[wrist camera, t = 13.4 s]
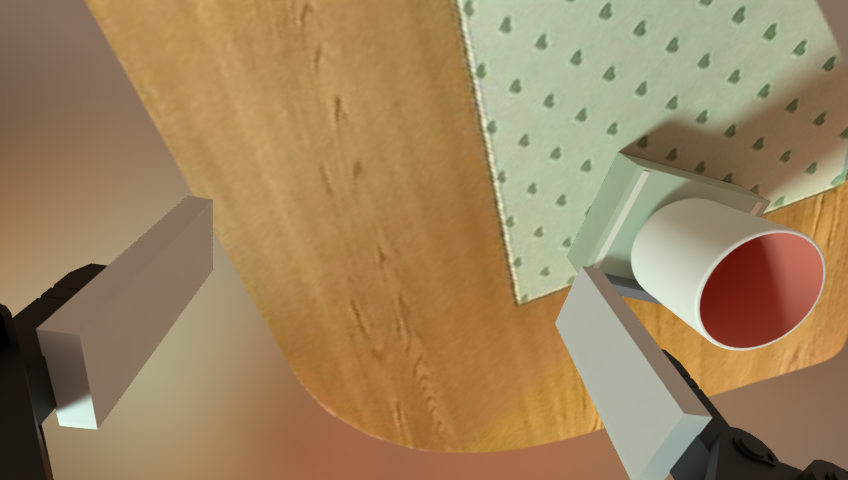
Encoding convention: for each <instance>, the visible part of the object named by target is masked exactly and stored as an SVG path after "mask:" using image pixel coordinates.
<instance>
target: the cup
mask: <svg viewBox="0 0 848 480" xmlns="http://www.w3.org/2000/svg"><path fill="white" fill-rule="evenodd" d="M631 266H632V270H633V273H634V276H635V278H636V280H637V281H638V283H639V284H640V286H641V287H642V288H643V289H644V290H645V291H646V292H648V293H649V294H650V295H652V296H653V297H654V298H655V299H657V300H658V301H659V302H660V303H662V304H663V305H664V306H666V307H667V308H668V309H669V310H671V311H672V312H673V313H675V314H676V315H677V316H678V317H680V318H681V319H682V320H683V321H685V322H686V323H687V324H689V325H690V326H691V327H692V328H694V329H695V330H696V331H697V332H699V333H700V334H701V335H703V336H704V337H705V338H706V339H708V340H709V341H710V342H712V343H713V344H715V345H717V346H719V347H722V348H726V349H730V350H751V349H756V348H760V347H763V346H766V345H769V344H771V343H774V342H776V341H778V340H779V339H781V338H783V337H784V336H786V335H788V334H789V333H790V332H792V331H793V330H794V329H795V328H797V327H798V326H799V325H800V324H801V323H802V322H803V321H804V320H805V319H806V318H807V316H808V315H809V314H810V313H811V311H812V310H813V308H814V307H815V305H816V304H817V302H818V300H819V298H820V295H821V293H822V290H823V287H824V283H825V278H826V265H825V260H824V256H823V253H822V251H821V249H820V248H819V246H818V245H817V244H816V242H815V241H814V240H813V239H811V238H810V237H809V236H808V235H806V234H804V233H802V232H800V231H797V230H794V229H791V228H788V227H786V226H783V225H780V224H777V223H774V222H771V221H769V220H766V219H763V218H760V217H757V216H754V215H752V214H749V213H746V212H743V211H740V210H737V209H734V208H731V207H729V206H726V205H723V204H720V203H717V202H714V201H711V200H707V199H700V198H690V199H683V200H679V201H676V202H673V203H671V204H668V205H666V206H664V207H663V208H661V209H659V210H658V211H657V212H655V213H654V214H653V215H652V216H651V217H650V218H649V219H648V220H647V221H646V222H645V223H644V224H643V226H642V227H641V228H640V230H639V232H638V233H637V235H636V237H635V240H634V243H633V246H632V251H631Z"/></svg>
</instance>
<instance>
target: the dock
mask: <svg viewBox="0 0 848 480" xmlns="http://www.w3.org/2000/svg"><path fill="white" fill-rule="evenodd" d="M690 198H700V199H707V200H711V201H714V202H717V203H720V204H723V205H726V206H729V207H731V208H734V209H737V210H740V211H743V212H746V213H749V214H752V215H754V216H757V217H760V216H761V215H762V214H763V212H764V211H765V209H766V208H767V206H768V205H769V204H770V201H768V200H766V199H764V198H762V197H761V196H759V195H757V194H755V193H753V192H751V191H749V190H747V189H745V188H743V187H742V186H738V185H735V184H731V183H728V182H724V181H720V180H717V179H713V178H710V177H706V176H702V175H699V174H695V173H692V172H688V171H684V170H681V169H677V168H674V167H670V166H666V165H663V164H659V163H656V162H652V161H648V160H645V159H641V158H638V157H634V156H630V155H627V154H623V153H620V152H618V154H617V156H616V158H615V160H614V162H613V164H612V166H611V168H610V170H609V172H608V174H607V176H606V178H605V180H604V182H603V184H602V186H601V188H600V190H599V192H598V194H597V196H596V198H595V200H594V202H593V204H592V206H591V208H590V210H589V212H588V214H587V217H586V219H585V221H584V223H583V225H582V227H581V229H580V231H579V233H578V235H577V237H576V239H575V241H574V243H573V245H572V247H571V249H570V251H569V253H568V255H567V258H568V260H569V261H570V263H571V264H572V266H573V267H574V269H575V270H576V272H577V273H578V272H579V270H580V268H581V266H586V267H592V268H597V269H601V270H602V272H603V273H604V274H605V276H606V277H607V278H608V280H609V281H610V282H611V284H612V285H613V286H614V288H615V289H616V290H617V292H618V293H619V294H620V296H625V297H630V298H634V299H639V300H644V301H648V302H653V303H657V304H662V303H660V302H659V301H658V300H657V299H655V298H654V297H653V296H652V295H650V294H649V293H648V292H646V291H645V290H644V289H643V288H642V287H641V286H640V284H639V283H638V281H637V280H636V278H635V276H634V273H633V270H632V266H631V251H632V246H633V243H634V240H635V237H636V235H637V233H638V232H639V230H640V228H641V227H642V226H643V224H644V223H645V222H646V221H647V220H648V219H649V218H650V217H651V216H652V215H653V214H654V213H655V212H657V211H658V210H659V209H661V208H663V207H664V206H666V205H668V204H671V203H673V202H676V201H679V200H683V199H690ZM662 305H663V304H662Z"/></svg>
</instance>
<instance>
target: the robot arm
mask: <svg viewBox="0 0 848 480" xmlns="http://www.w3.org/2000/svg"><path fill="white" fill-rule="evenodd" d="M212 270H213V200H211V199H205V198H199V197H194V196H187V197H186V198H185V199H183V200H182V201H181V202H180V203H179V204H178V205H177V206H176V207H174V208H173V209H172V210H171V211H170V212H169V213H168V214H167V215H165V216H164V217H163V218H162V219H161V220H160V221H159V222H157V223H156V224H155V225H154V226H153V227H152V228H150V229H149V230H148V231H147V232H146V233H145V234H144V235H143V236H141V237H140V238H139V239H138V240H137V241H136V242H135V243H133V244H132V245H131V246H130V247H129V248H128V249H127V250H125V251H124V252H123V253H122V254H121V255H120V256H119V257H118V258H116V259H115V260H114V261H113V262H112V263H111V264H110V265H108V266H105V265H99V264H92V263H91V264H89V265H86V266H84V267H82V268H79V269H77V270H74V271H72V272H70V273H68V274H67V275H66V276H65V277H63V278H62V279H61V280H60V281H58V282H57V283H56V284H55V285H54V287H53V288H50V289H48V290H47V291H46V292H44V293H43V294H42V295H41V298H37V299H36V300H35V301H33V302H32V303H31V304H29V305H28V306H27V307H26V308H25V309H23V310H22V311H21V312H19V313H18V314H17V315H16V316H14V317H13V318H12V315H11V312H10V311H9V309H8V308H7V307H6V306H4V305H2V304H0V480H54V479H53V475H52V469H51V465H50V460H49V455H48V451H47V446H46V441H45V436H44V432H43V428H42V422H43V421H44V420H45V419H46V418H47V417H48V415H49V414H50V413H51V412H52V411H53V410H54V409H56V413H57V416H58V421H59V425H60V426H68V427H78V428H87V429H98V428H99V427H100V425H101V424H102V422H103V421H104V420H105V418H106V417H107V415H108V414H109V413H110V411H111V410H112V409H113V407H114V406H115V405H116V403H117V402H118V400H119V399H120V398H121V396H122V395H123V393H124V392H125V391H126V389H127V388H128V387H129V385H130V384H131V382H132V381H133V380H134V378H135V377H136V375H137V374H138V372H139V371H140V370H141V368H142V367H143V366H144V364H145V363H146V362H147V360H148V359H149V357H150V356H151V355H152V353H153V352H154V350H155V349H156V347H157V346H158V345H159V343H160V342H161V341H162V339H163V338H164V337H165V335H166V334H167V333H168V331H169V330H170V328H171V327H172V325H173V324H174V322H175V321H176V320H177V319H178V317H179V316H180V315H181V313H182V312H183V310H184V309H185V308H186V306H187V305H188V303H189V302H190V301H191V299H192V298H193V296H194V295H195V294H196V292H197V291H198V290H199V288H200V287H201V285H202V284H203V283H204V281H205V280H206V278H207V277H208V276H209V274H210V273H211V272H212ZM555 324H556V326H557V328H558V330H559V333H560V335H561V337H562V339H563V341H564V343H565V345H566V347H567V349H568V351H569V353H570V355H571V357H572V360H573V362H574V364H575V366H576V368H577V370H578V372H579V374H580V376H581V378H582V380H583V382H584V384H585V386H586V389H587V391H588V393H589V395H590V397H591V399H592V401H593V403H594V405H595V407H596V409H597V411H598V413H599V415H600V418H601V420H602V422H603V424H604V426H605V428H606V430H607V432H608V434H609V436H610V438H611V440H612V442H613V444H614V447H615V448H616V450H617V453H618V455H619V457H620V459H621V461H622V463H623V465H624V467H625V469H626V471H627V474H628V476H629V478H630V480H664V479H665V478H666V477H667V476H668V474H669V473H671V475H672V476H673V478H674V480H848V471H846V470H845V469H842V468H840V467H838V466H836V465H834V464H833V463H830V462H827V461H824V460H814V461H813V462H812V463H811V464H810V465H809V466H808V467H807V468H806V469H805V470H804V471H802V470H800V469H797V468H794V467H792V466H789V465H787V464H784V463H781V462H779V461H778V459H777V457H776V456H775V455H774V453H773V452H772V451H771V450H770V449H769V448H768V447H767V446H766V445H765V444H764V443H763V442H762V441H760V440H759V439H757V438H756V437H754V436H753V435H751V434H750V433H747V432H745V431H743V430H741V429H738V428H734V427H730V426H729V425H728V423H727V422H726V421H725V420H724V418H723V417H722V416H721V414H720V413H719V412H718V411H717V409H716V408H715V407H714V405H713V404H712V403H711V402H710V401H709V399H708V398H707V396H706V395H705V394H704V393H703V391H702V390H700V389H699V386H698V385H697V384H696V382H695V381H694V380H693V379H692V378H690V375H689V373H688V372H687V371H686V370H685V368H684V367H683V366H682V364H681V363H680V362H679V361H678V360H676V359H675V358H674V357H673V356H672V355H671V354H669V353H668V352H667V351H666V350H663V349H660V347H659V346H658V345H657V343H656V342H655V341H654V339H653V338H652V337H651V335H650V334H649V333H648V331H647V330H646V329H645V327H644V326H643V325H642V323H641V322H640V321H639V319H638V318H637V317H636V315H635V314H634V313H633V311H632V310H631V309H630V308H629V306H628V305H627V304H626V302H625V301H624V300H623V298H622V297H621V296H620V294H619V293H618V292H617V290H616V289H615V288H614V286H613V285H612V284H611V282H610V281H609V280H608V278H607V277H606V276H605V274H604V273H603V272H602V270H601V269H597V268H592V267H586V266H581V268H580V270H579V272H578V275H577V277H576V279H575V281H574V283H573V285H572V288H571V290H570V292H569V294H568V296H567V298H566V301H565V303H564V305H563V307H562V309H561V311H560V314H559V316H558V318H557V320H556V322H555Z"/></svg>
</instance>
